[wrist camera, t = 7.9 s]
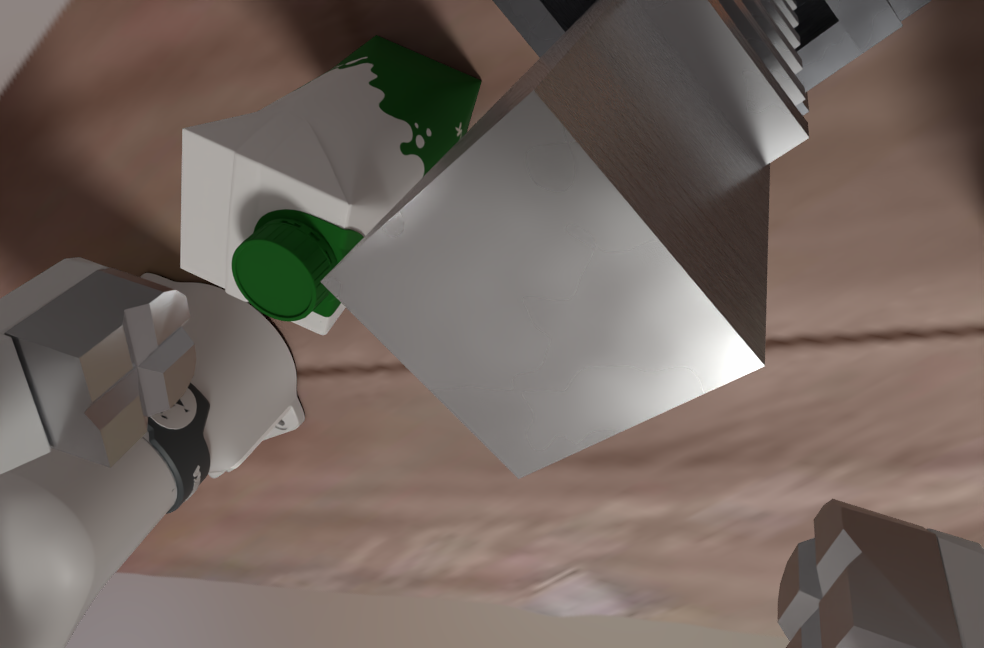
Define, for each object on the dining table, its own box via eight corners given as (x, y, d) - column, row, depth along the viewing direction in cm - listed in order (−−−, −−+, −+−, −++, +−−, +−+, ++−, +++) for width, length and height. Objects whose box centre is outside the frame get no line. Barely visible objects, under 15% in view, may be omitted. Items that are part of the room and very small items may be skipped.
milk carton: (462, 195, 48) (310, 378, 32) (341, 141, 49) (135, 295, 33) (500, 71, 42) (340, 219, 27) (363, 12, 43) (129, 123, 28)
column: (674, 82, 31) (518, 478, 13) (604, -8, 30) (319, 281, 11) (797, -14, 28) (835, 333, 9) (724, -120, 27) (597, 33, 8)
